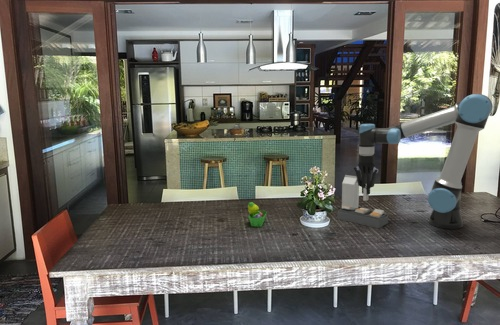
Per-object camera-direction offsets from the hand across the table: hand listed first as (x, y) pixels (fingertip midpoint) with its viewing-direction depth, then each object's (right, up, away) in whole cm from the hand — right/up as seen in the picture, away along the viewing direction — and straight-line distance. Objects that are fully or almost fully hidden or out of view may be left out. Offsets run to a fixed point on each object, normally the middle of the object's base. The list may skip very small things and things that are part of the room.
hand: (365, 200), depth 206 cm
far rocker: (-8, -5, +5) cm, 10 cm away
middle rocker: (-2, -6, -1) cm, 6 cm away
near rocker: (+4, -7, -6) cm, 10 cm away
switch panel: (-2, -11, 0) cm, 11 cm away
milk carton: (-2, -7, +24) cm, 25 cm away
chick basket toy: (-56, -12, -1) cm, 57 cm away
